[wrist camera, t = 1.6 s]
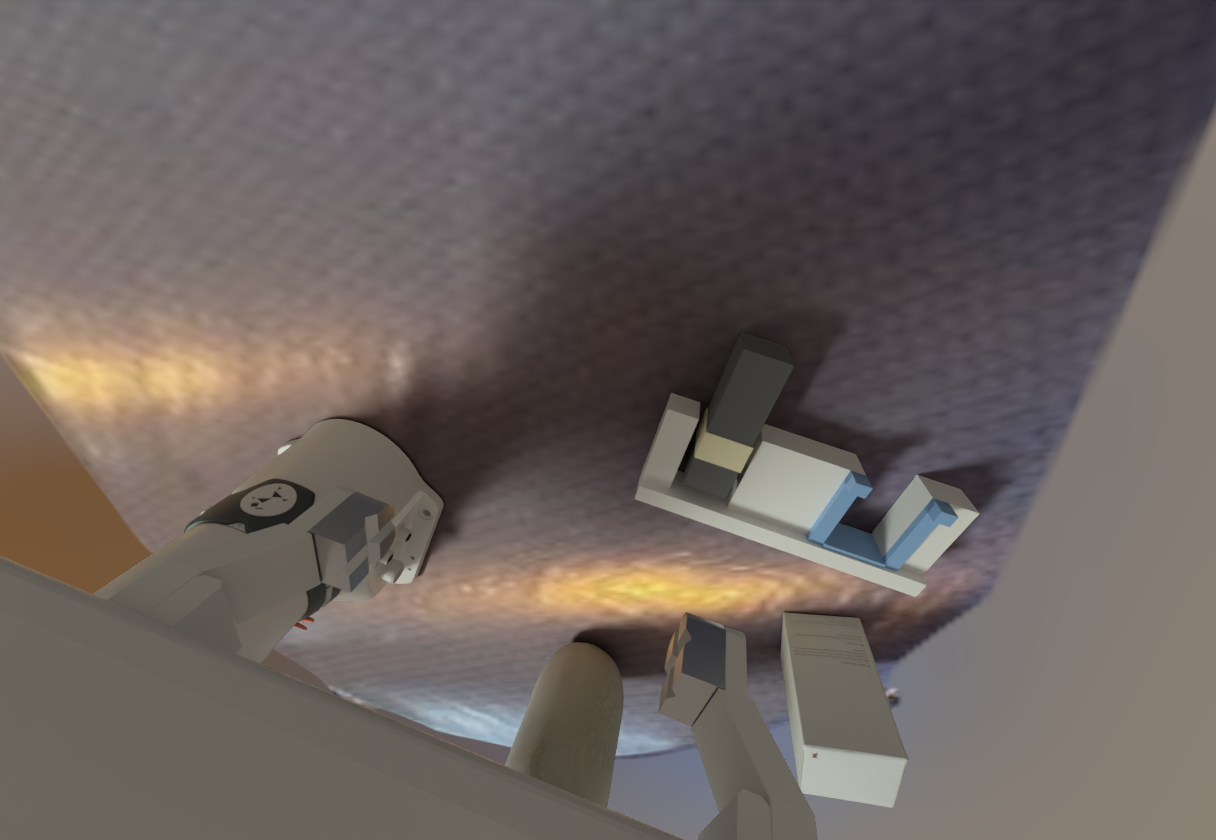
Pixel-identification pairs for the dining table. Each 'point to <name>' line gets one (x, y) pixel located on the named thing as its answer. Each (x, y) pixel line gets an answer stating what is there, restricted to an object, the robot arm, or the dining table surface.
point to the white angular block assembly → (808, 503)
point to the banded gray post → (737, 413)
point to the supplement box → (839, 711)
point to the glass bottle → (572, 723)
